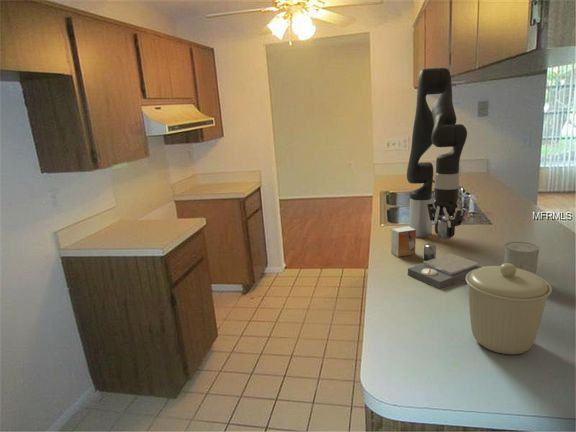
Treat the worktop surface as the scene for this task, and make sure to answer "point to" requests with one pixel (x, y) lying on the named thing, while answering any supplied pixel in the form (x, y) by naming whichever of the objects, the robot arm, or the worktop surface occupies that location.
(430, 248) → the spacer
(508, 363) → the worktop surface
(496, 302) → the canister
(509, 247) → the grey round cylinder
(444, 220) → the cylinder
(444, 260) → the shower mixer plate
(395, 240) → the small box
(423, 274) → the scale
